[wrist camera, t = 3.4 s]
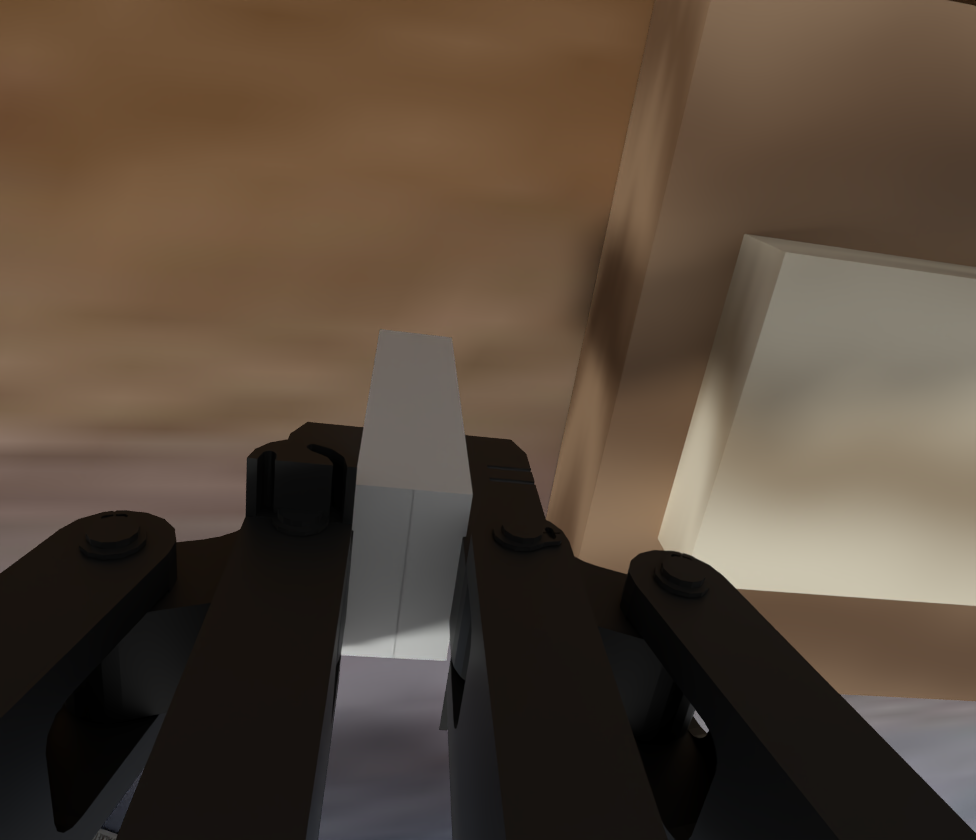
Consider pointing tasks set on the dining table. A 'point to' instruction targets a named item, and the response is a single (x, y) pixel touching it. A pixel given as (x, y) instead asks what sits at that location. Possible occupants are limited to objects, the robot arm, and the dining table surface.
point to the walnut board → (776, 214)
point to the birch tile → (836, 428)
